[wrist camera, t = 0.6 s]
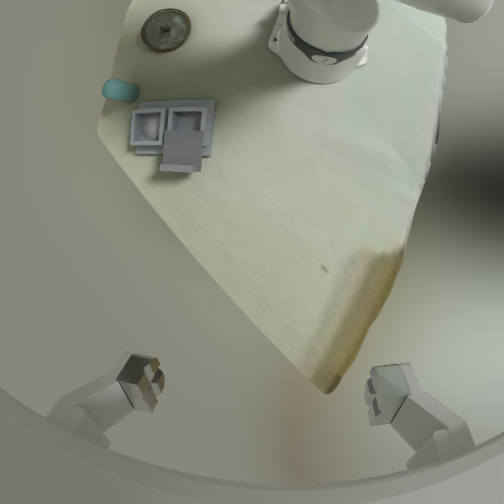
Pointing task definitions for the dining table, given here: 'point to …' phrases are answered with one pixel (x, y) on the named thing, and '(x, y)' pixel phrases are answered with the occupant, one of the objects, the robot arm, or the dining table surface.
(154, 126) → the housing
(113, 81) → the jaw peg
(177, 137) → the slide lid
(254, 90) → the dining table surface
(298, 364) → the dining table surface
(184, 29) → the lid
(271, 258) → the dining table surface
